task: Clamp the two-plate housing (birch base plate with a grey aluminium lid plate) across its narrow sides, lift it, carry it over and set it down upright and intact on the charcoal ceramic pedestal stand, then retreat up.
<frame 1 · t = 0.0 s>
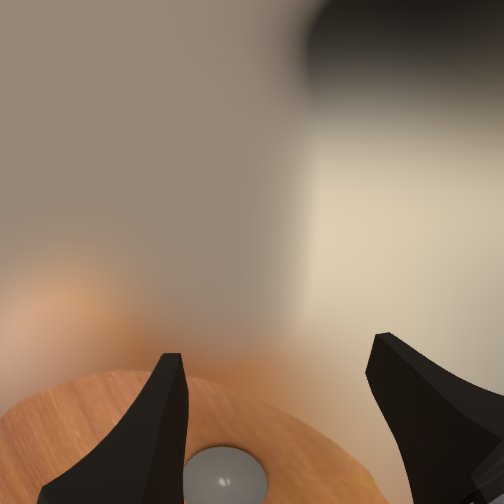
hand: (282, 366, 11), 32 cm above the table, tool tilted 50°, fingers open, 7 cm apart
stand: (224, 481, 34), on the table
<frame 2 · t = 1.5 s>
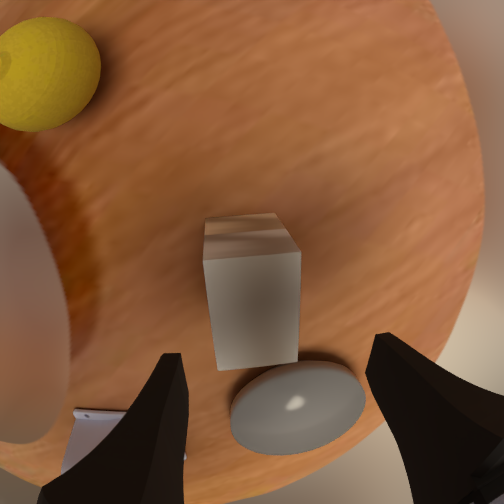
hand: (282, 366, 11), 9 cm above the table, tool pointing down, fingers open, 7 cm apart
lemon: (76, 82, 14), on the table
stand: (294, 398, 25), on the table
housing: (243, 262, 20), on the table
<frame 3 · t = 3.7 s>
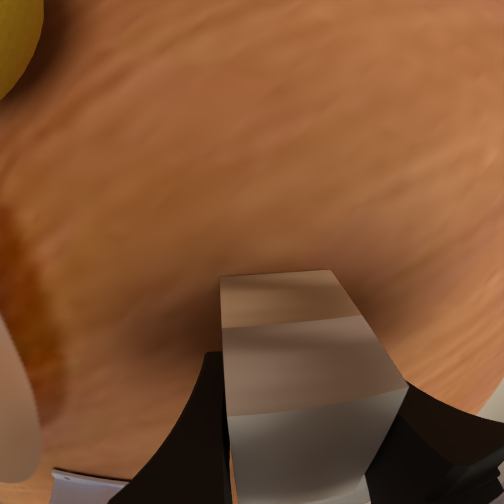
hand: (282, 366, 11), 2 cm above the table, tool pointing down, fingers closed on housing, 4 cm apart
lemon: (20, 51, 7), on the table
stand: (317, 471, 18), on the table
housing: (274, 339, 12), on the table, touching gripper
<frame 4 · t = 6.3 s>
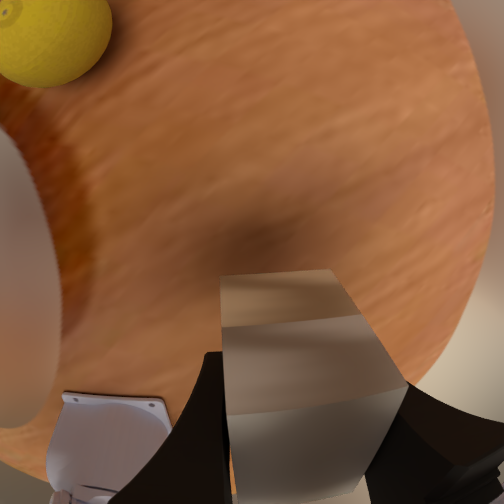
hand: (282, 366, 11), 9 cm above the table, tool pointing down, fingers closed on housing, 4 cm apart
lemon: (85, 46, 13), on the table
housing: (274, 338, 12), point 7 cm above the table, touching gripper
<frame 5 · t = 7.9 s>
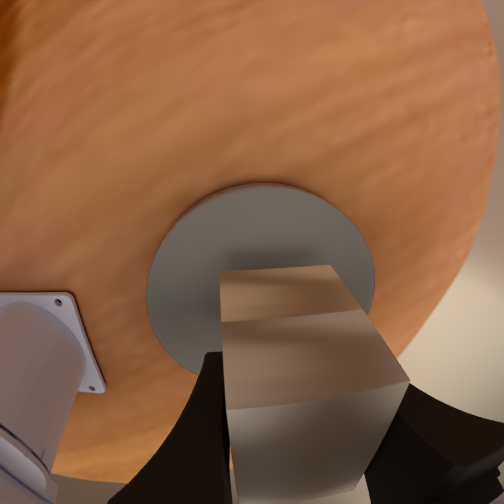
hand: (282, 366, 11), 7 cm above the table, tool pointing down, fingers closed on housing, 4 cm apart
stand: (258, 281, 17), on the table
housing: (274, 335, 12), point 5 cm above the table, touching gripper
when the fingers open (5 cm above the table, at t = 9.3 s): housing stays where it is, resting on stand.
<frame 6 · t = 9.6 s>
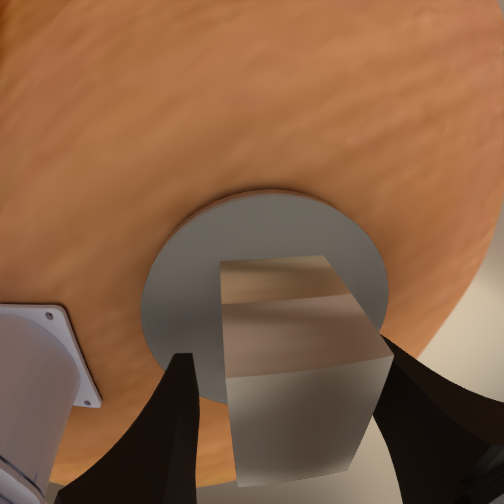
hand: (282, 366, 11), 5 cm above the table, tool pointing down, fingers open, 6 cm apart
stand: (263, 295, 16), on the table
housing: (271, 322, 13), point 2 cm above the table, touching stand
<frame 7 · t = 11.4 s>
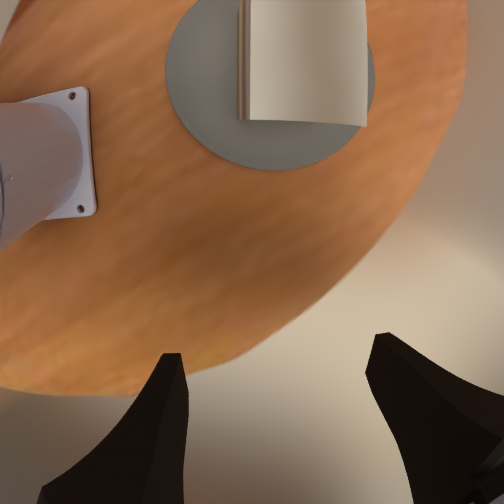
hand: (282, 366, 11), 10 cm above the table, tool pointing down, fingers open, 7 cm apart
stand: (268, 73, 16), on the table
housing: (277, 64, 14), point 2 cm above the table, touching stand
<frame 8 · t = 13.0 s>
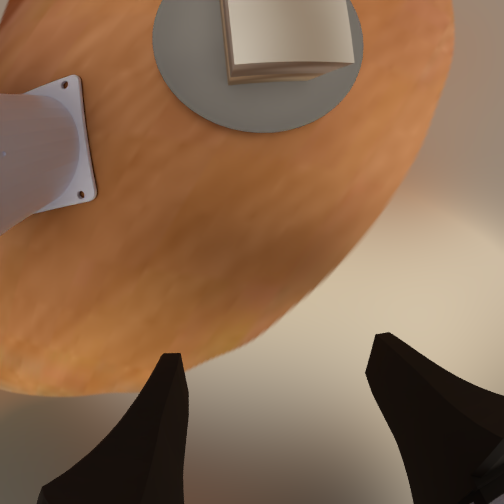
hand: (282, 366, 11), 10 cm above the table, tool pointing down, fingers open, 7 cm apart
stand: (256, 42, 15), on the table
housing: (262, 28, 13), point 2 cm above the table, touching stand
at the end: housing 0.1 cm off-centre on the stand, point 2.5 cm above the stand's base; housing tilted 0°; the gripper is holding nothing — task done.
